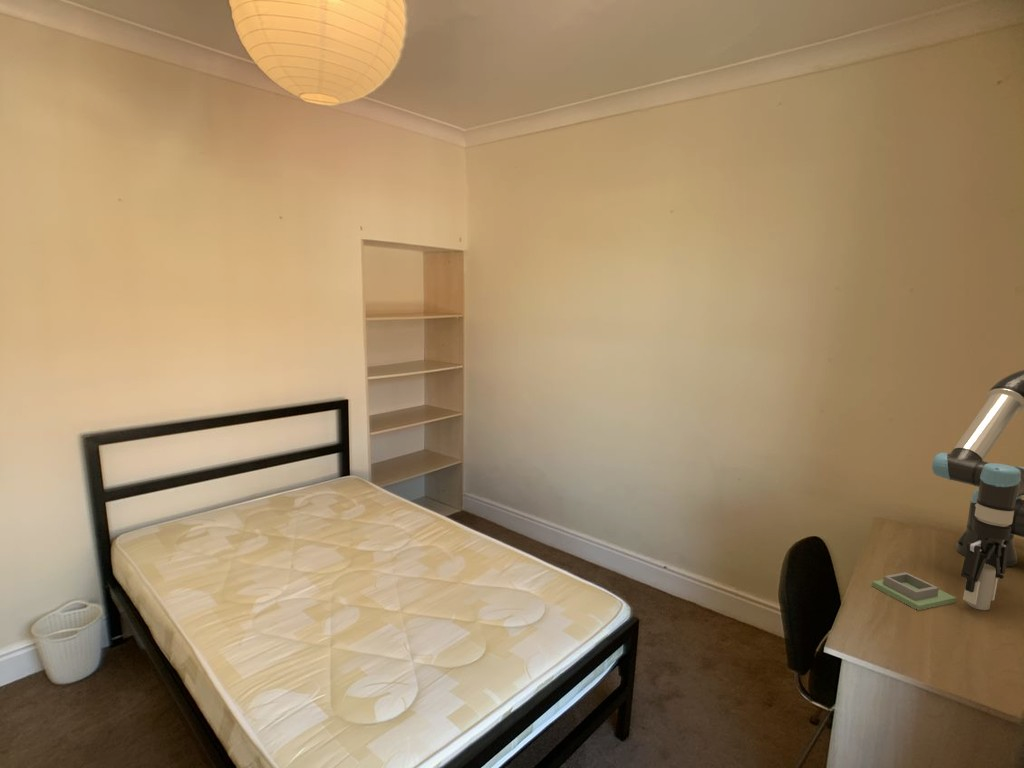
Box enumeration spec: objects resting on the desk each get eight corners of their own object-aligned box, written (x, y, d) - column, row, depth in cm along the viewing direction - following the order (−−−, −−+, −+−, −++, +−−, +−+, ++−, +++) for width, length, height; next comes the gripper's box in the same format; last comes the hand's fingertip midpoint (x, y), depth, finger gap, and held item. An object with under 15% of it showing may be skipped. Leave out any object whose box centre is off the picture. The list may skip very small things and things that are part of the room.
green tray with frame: (907, 579, 156) (909, 566, 156) (955, 602, 144) (957, 589, 144) (871, 586, 152) (873, 573, 151) (918, 610, 140) (920, 597, 139)
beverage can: (992, 613, 140) (1000, 571, 138) (971, 609, 141) (978, 568, 139) (983, 603, 144) (990, 563, 142) (962, 600, 146) (969, 560, 144)
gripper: (999, 512, 146) (986, 587, 149) (952, 519, 139) (939, 597, 143) (1032, 522, 139) (1018, 601, 142) (984, 530, 132) (970, 612, 136)
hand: (978, 599), depth 142 cm, fingers open, 7 cm apart
